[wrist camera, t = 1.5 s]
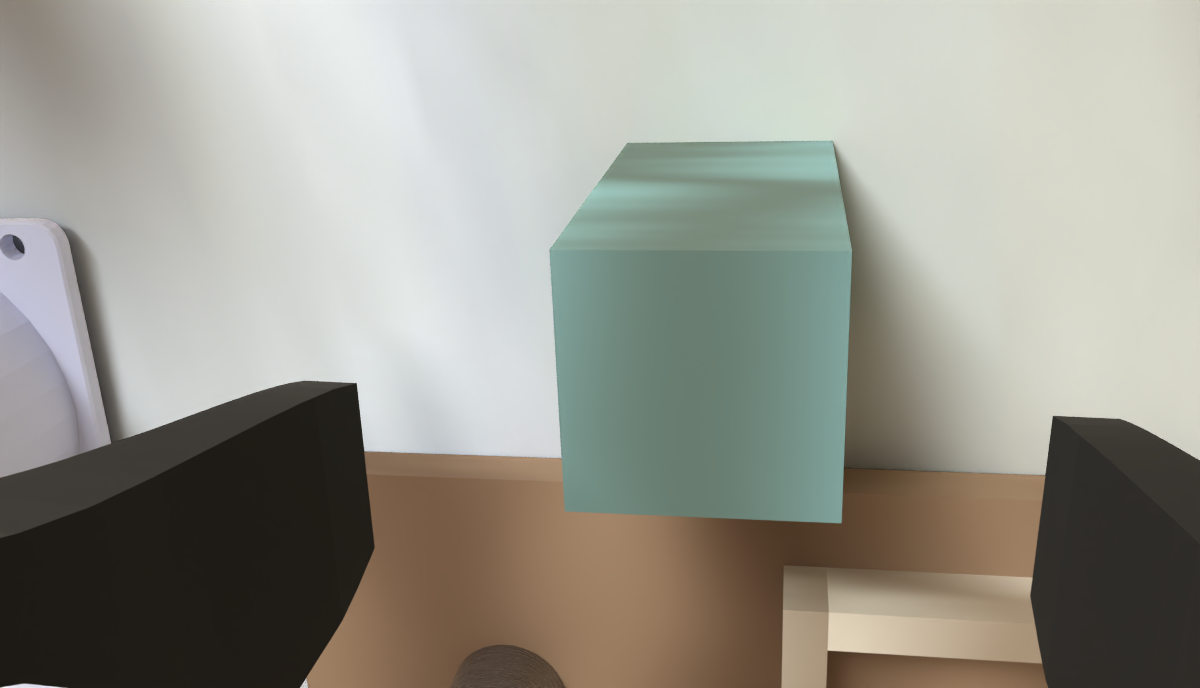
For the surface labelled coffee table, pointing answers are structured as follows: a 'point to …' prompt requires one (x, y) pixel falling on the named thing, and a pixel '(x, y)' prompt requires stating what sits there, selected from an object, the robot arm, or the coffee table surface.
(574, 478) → the peg
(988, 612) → the brown board
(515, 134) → the coffee table surface
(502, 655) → the brushed metal cylinder
